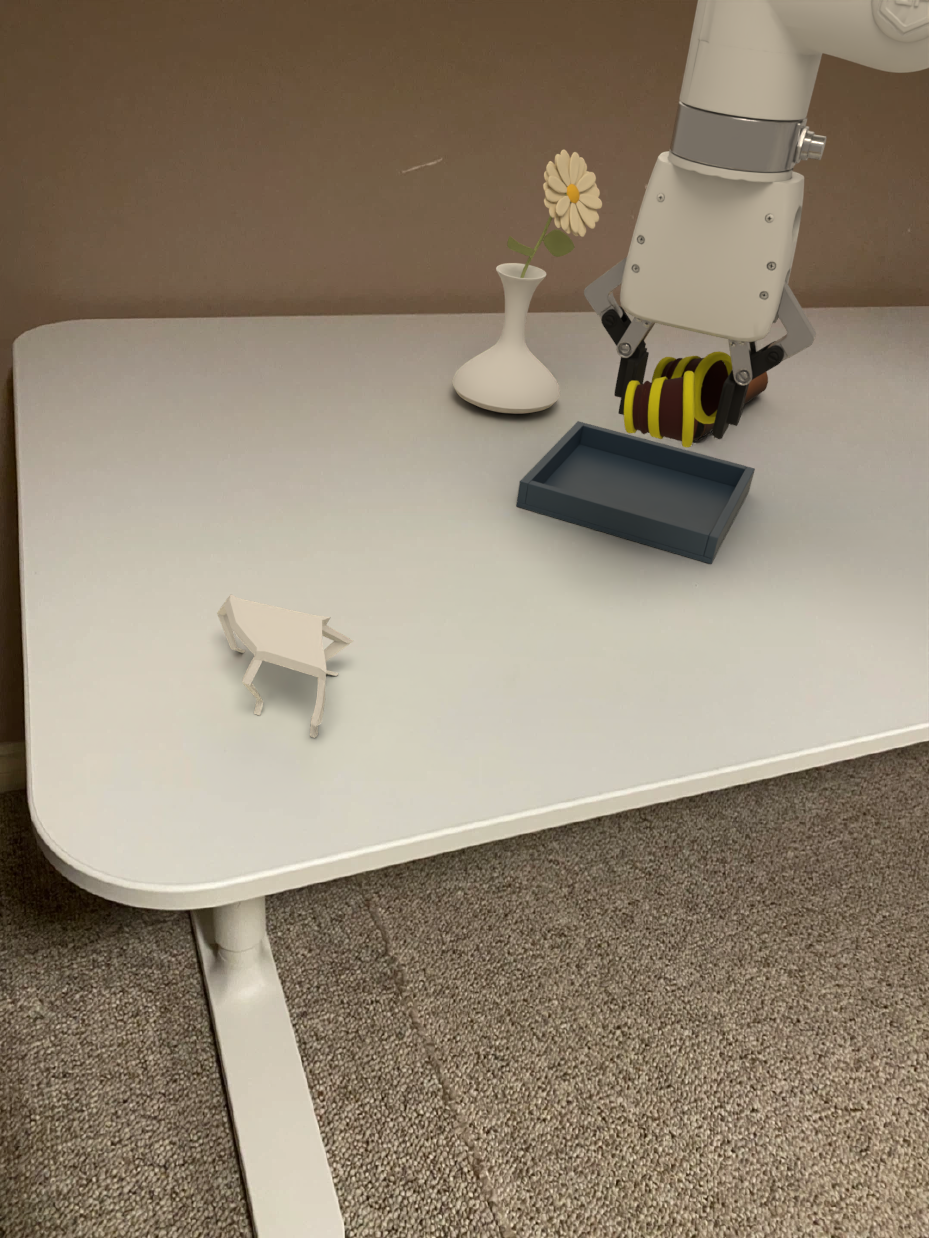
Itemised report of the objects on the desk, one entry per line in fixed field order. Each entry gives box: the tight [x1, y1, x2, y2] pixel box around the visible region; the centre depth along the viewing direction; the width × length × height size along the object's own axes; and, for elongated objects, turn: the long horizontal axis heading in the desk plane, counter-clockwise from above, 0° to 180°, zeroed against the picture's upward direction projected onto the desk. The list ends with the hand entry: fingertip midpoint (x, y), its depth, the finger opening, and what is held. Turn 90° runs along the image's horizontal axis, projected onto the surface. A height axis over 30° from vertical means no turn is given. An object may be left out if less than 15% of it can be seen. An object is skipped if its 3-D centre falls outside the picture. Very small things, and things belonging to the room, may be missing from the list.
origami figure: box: [216, 593, 354, 739], centre depth 70 cm, size 12×8×5 cm
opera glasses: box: [623, 350, 732, 448], centre depth 74 cm, size 10×5×5 cm, turn 150°
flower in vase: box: [451, 149, 603, 415], centre depth 108 cm, size 13×11×25 cm
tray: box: [515, 420, 756, 565], centre depth 98 cm, size 18×16×2 cm
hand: (674, 417), depth 75 cm, fingers closed on opera glasses, 5 cm apart
